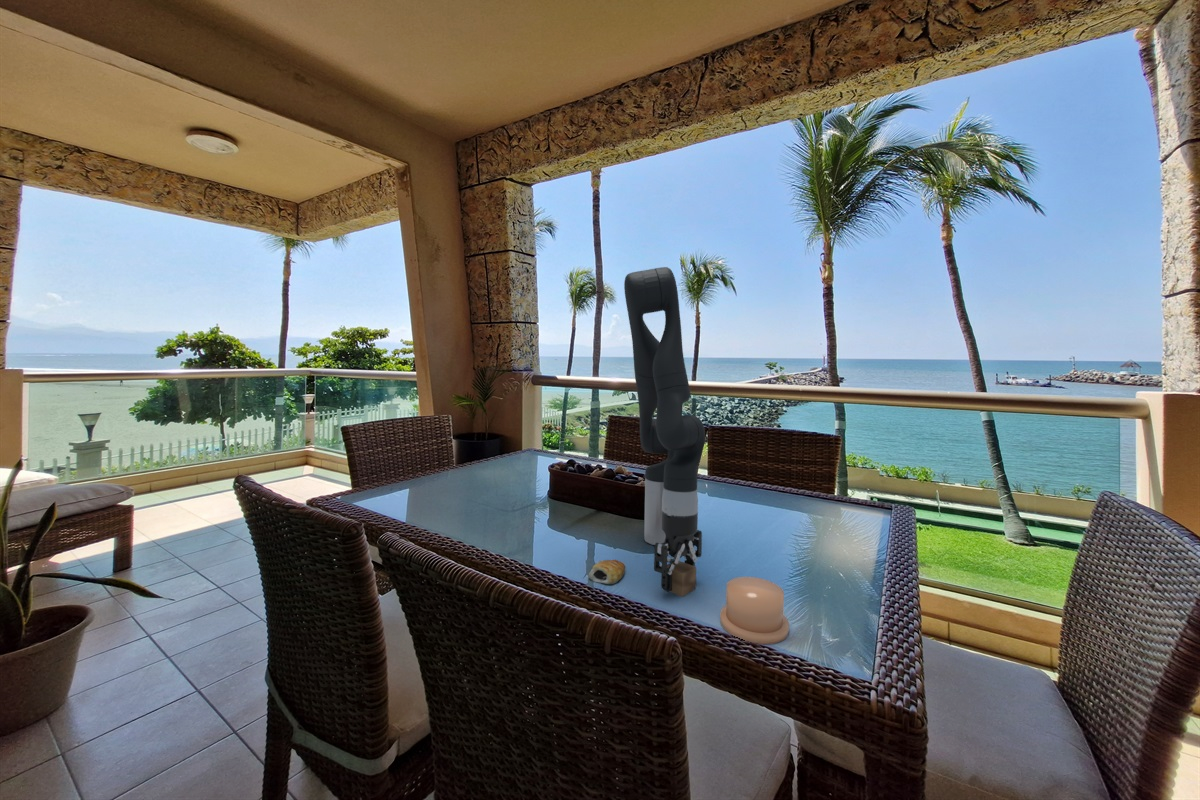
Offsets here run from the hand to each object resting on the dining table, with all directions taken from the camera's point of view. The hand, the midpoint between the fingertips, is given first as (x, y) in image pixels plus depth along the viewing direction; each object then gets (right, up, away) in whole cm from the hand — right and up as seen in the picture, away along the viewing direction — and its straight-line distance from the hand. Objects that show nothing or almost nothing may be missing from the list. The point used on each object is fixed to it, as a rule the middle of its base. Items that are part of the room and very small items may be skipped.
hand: (678, 583), depth 101 cm
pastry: (-15, -1, +6) cm, 16 cm away
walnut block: (0, -1, 0) cm, 1 cm away
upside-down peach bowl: (+12, -2, -14) cm, 18 cm away
